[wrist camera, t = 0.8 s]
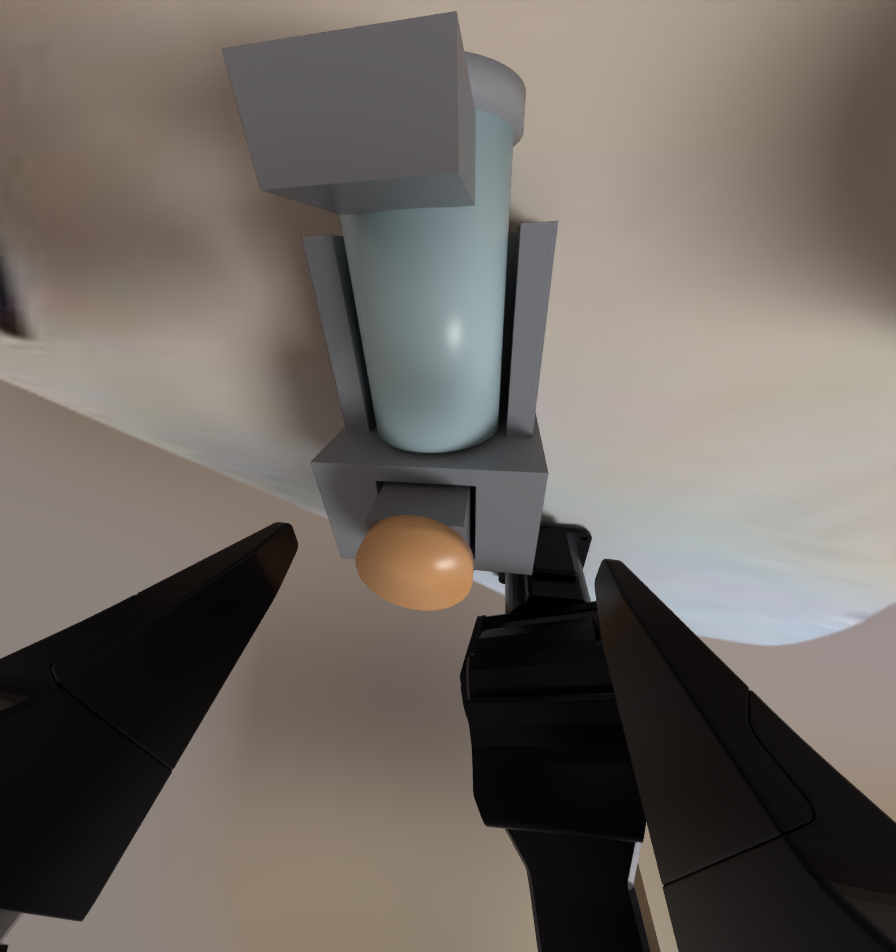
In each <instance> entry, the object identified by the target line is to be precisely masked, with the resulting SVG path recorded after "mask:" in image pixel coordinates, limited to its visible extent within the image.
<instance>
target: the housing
mask: <svg viewBox="0 0 896 952" xmlns="http://www.w3.org/2000/svg"><path fill="white" fill-rule="evenodd" d="M557 226H558V221H548V222H532V223H521V225H520V227H519V229H518V232H517V233H508V251H507V269H506V288H505V307H504V326H503V345H502V364H501V382H500V401H499V420H498V429H497V431H496V432H495V433H494V435H493V436H491V437H490V438H489V439H487V440H486V441H484V442H482V443H480V444H478V445H475V446H472V447H470V448H466V449H462V450H457V451H451V452H440V453H422V452H413V451H407V450H403V449H399V448H396V447H393V446H391V445H389V444H387V443H386V442H384V441H383V440H382V439H381V438H380V436H379V434H378V431H377V425H376V419H375V414H374V408H373V402H372V397H371V391H370V385H369V379H368V374H367V368H366V362H365V357H364V351H363V345H362V339H361V334H360V328H359V322H358V317H357V311H356V305H355V299H354V294H353V288H352V282H351V277H350V271H349V265H348V259H347V254H346V248H345V242H344V237H341V236H335V235H324V236H308V237H302V241H303V245H304V249H305V253H306V258H307V262H308V266H309V271H310V275H311V279H312V284H313V288H314V292H315V296H316V301H317V305H318V309H319V314H320V318H321V322H322V326H323V331H324V335H325V339H326V344H327V348H328V352H329V356H330V361H331V365H332V369H333V374H334V378H335V382H336V387H337V391H338V395H339V399H340V404H341V408H342V412H343V417H344V421H345V425H346V426H345V427H344V428H343V429H342V430H341V431H340V433H339V434H338V435H337V436H336V437H335V438H334V439H333V440H332V441H331V442H330V443H329V444H328V445H327V446H326V447H325V448H324V449H323V450H322V451H321V452H320V453H319V454H318V455H317V456H316V457H315V458H314V459H313V460H312V461H311V465H312V468H313V472H314V475H315V478H316V481H317V484H318V487H319V490H320V493H321V497H322V500H323V503H324V506H325V509H326V512H327V515H328V518H329V521H330V525H331V528H332V531H333V534H334V537H335V540H336V543H337V546H338V549H339V552H340V556H341V558H348V559H356V554H357V551H358V549H359V547H360V545H361V543H362V541H363V539H364V537H365V535H366V533H367V532H368V531H367V527H366V523H365V518H366V517H367V515H368V513H369V511H370V509H371V507H372V506H373V504H374V502H375V500H376V498H377V496H378V495H379V493H380V491H381V489H382V487H383V485H384V484H385V482H386V481H390V482H408V483H427V484H446V485H465V486H471V543H470V549H471V551H472V554H473V558H474V569H473V570H481V571H492V572H503V573H514V574H525V575H532V571H533V565H534V558H535V552H536V546H537V540H538V534H539V527H540V521H541V515H542V509H543V503H544V496H545V490H546V484H547V478H548V470H547V465H546V460H545V455H544V451H543V446H542V441H541V436H540V432H539V427H538V422H537V417H536V413H535V410H536V402H537V393H538V385H539V377H540V368H541V360H542V352H543V343H544V335H545V326H546V318H547V310H548V301H549V293H550V285H551V276H552V268H553V260H554V251H555V243H556V235H557Z"/></svg>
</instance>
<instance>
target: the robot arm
mask: <svg viewBox="0 0 896 952" xmlns="http://www.w3.org/2000/svg"><path fill="white" fill-rule="evenodd" d="M583 536H586V537H583ZM591 540H592V537H591V533H590V532H589V531H588V530H581V529H567V528H552V527H539V534H538V540H537V546H536V552H535V558H534V565H533V571H532V575H525V574H514V573H503V572H499V582H500V583H502V584H505V614H501V615H493V616H486V615H483V616H478V617H477V619H476V623H475V626H474V629H473V633H472V636H471V640H470V643H469V646H468V649H467V653H466V656H465V659H464V663H463V667H462V670H461V674H460V681H461V693H462V700H463V706H464V709H465V713H466V716H467V719H468V722H469V728H470V736H471V744H472V764H473V792H474V798H475V801H476V803H477V806H478V809H479V812H480V814H481V817H482V820H483V822H484V824H485V825H486V826H487V827H496V828H505V830H506V832H507V834H508V836H509V837H510V839H511V841H512V843H513V845H514V847H515V849H516V850H517V852H518V854H519V856H520V858H521V860H522V861H523V863H524V865H525V868H526V870H527V875H528V881H529V887H530V894H531V901H532V910H533V917H534V925H535V932H536V940H537V947H538V952H660V948H659V944H658V940H657V936H656V932H655V928H654V924H653V921H652V916H651V913H650V908H649V905H648V901H647V897H646V893H645V889H644V885H643V881H642V877H641V873H640V870H639V865H638V858H639V854H640V848H641V843H642V842H643V839H644V833H645V826H646V822H647V826H648V829H649V833H650V837H651V842H652V845H653V849H654V854H655V858H656V861H657V866H658V870H659V874H660V878H661V882H662V884H663V885H664V886H663V891H664V895H665V899H666V903H667V907H668V911H669V915H670V919H671V923H672V927H673V931H674V935H675V939H676V943H677V947H678V951H679V952H896V823H895V822H894V821H893V820H892V819H891V818H890V817H889V816H888V815H886V814H885V813H884V812H883V811H882V810H881V809H880V808H878V807H877V806H876V805H875V804H874V803H873V802H872V801H871V800H869V799H868V798H867V797H866V796H865V795H864V794H863V793H862V792H860V791H859V790H858V789H857V788H856V787H855V786H854V785H853V784H851V783H850V782H849V781H848V780H847V779H846V778H845V777H843V776H842V775H841V774H840V773H839V772H838V771H837V770H836V769H835V768H834V767H833V766H831V765H830V764H829V763H828V762H827V761H826V760H825V759H824V758H823V757H822V756H820V755H819V754H818V753H817V752H816V751H815V750H813V748H812V747H811V746H809V745H808V744H807V743H806V742H805V741H804V740H803V739H802V738H801V737H800V736H799V735H798V734H797V733H796V732H794V731H793V730H792V729H791V728H790V727H789V726H788V725H787V724H786V723H785V722H784V721H783V720H782V719H781V718H780V717H779V716H778V715H777V714H776V713H775V712H773V710H772V709H771V708H770V707H768V706H767V705H766V704H765V703H764V702H763V701H762V700H761V699H760V698H759V697H758V696H757V695H756V694H755V693H754V692H753V691H752V690H749V688H748V686H747V685H746V684H745V683H744V682H743V681H742V680H741V679H740V678H739V677H738V676H737V675H736V674H735V673H734V672H733V671H732V670H731V669H730V668H729V667H728V666H727V665H726V664H725V663H724V662H723V661H722V660H721V659H720V658H719V657H718V656H717V655H716V654H715V653H714V652H713V651H711V649H710V648H709V647H708V646H707V645H706V644H704V643H703V642H702V641H701V640H700V639H699V638H698V637H697V636H696V635H695V634H694V633H693V632H692V631H691V630H690V629H689V628H688V627H687V626H686V625H685V624H684V623H683V622H682V621H681V620H680V619H679V618H678V617H677V616H676V615H675V614H674V613H673V612H672V611H671V610H670V609H669V608H668V607H667V606H666V605H665V604H664V603H663V602H662V601H661V600H660V599H659V598H658V597H657V596H656V595H655V594H654V593H653V592H652V591H651V590H650V589H649V588H648V587H647V586H646V585H645V584H644V583H643V582H642V581H641V580H640V579H639V578H638V577H637V576H636V575H635V574H634V573H633V572H632V571H631V570H630V569H629V568H628V567H627V566H626V565H625V564H624V563H622V562H621V561H619V560H613V559H604V560H603V561H602V562H601V565H600V567H599V570H598V573H597V576H596V578H595V594H596V601H593V602H591V600H590V596H589V592H588V588H587V585H586V581H585V577H584V573H583V567H584V564H585V560H586V557H587V553H588V550H589V546H590V543H591ZM297 549H298V542H297V539H296V536H295V533H294V530H293V527H292V525H291V524H289V523H282V522H276V523H273V524H272V525H270V526H268V527H266V528H264V529H262V530H260V531H258V532H256V533H254V534H252V535H250V536H248V537H246V538H244V539H242V540H240V541H238V542H236V543H235V544H233V545H231V546H229V547H227V548H225V549H223V550H221V551H219V552H217V553H215V554H213V555H211V556H209V557H207V558H205V559H203V560H202V561H199V562H197V563H196V564H194V565H192V566H190V567H188V568H186V569H184V570H182V571H180V572H178V573H176V574H174V575H172V576H170V577H168V578H166V579H164V580H162V581H160V582H158V583H157V584H155V585H153V586H151V587H149V588H147V589H145V590H143V591H141V592H139V593H138V594H137V595H133V596H131V597H129V598H127V599H125V600H123V601H121V602H120V603H118V604H116V605H114V606H112V607H110V608H108V609H105V610H103V611H102V612H99V613H98V614H95V615H94V616H92V617H89V618H87V619H85V620H83V621H81V622H79V623H77V624H75V625H72V626H70V627H68V628H66V629H64V630H62V631H60V632H58V633H55V634H53V635H51V636H49V637H47V638H44V639H43V640H40V641H38V642H36V643H34V644H32V645H30V646H27V647H25V648H23V649H21V650H19V651H16V652H14V653H12V654H10V655H8V656H5V657H3V658H1V659H0V952H7V948H8V945H6V944H3V943H2V941H3V940H4V939H5V937H6V936H7V935H8V933H9V932H10V931H11V929H12V928H13V927H14V925H15V924H16V923H17V922H18V920H19V919H20V918H21V916H22V915H23V914H24V913H27V914H34V915H41V916H47V917H53V918H61V919H67V920H73V921H80V922H81V921H83V919H84V918H85V916H86V915H87V914H88V912H89V911H90V909H91V907H92V906H93V904H94V903H95V901H96V899H97V898H98V896H99V894H100V893H101V891H102V889H103V888H104V886H105V884H106V883H107V881H108V879H109V877H110V876H111V874H112V872H113V871H114V869H115V867H116V866H117V864H118V862H119V861H120V859H121V857H122V856H123V854H124V852H125V850H126V849H127V847H128V845H129V844H130V842H131V840H132V838H133V837H134V835H135V833H136V832H137V830H138V828H139V827H140V825H141V823H142V821H143V820H144V818H145V817H146V815H147V813H148V812H149V810H150V808H151V807H152V805H153V803H154V801H155V800H156V798H157V796H158V795H159V793H160V791H161V790H162V788H163V786H164V785H165V783H166V781H167V779H168V778H169V776H170V774H171V773H172V769H174V767H175V766H176V764H177V762H178V761H179V759H180V757H181V755H182V754H183V752H184V750H185V748H186V747H187V745H188V744H189V742H190V740H191V739H192V737H193V735H194V733H195V732H196V730H197V728H198V727H199V725H200V723H201V722H202V720H203V718H204V717H205V715H206V713H207V712H208V710H209V708H210V706H211V705H212V703H213V701H214V700H215V698H216V696H217V695H218V693H219V691H220V689H221V688H222V686H223V684H224V683H225V681H226V679H227V678H228V676H229V674H230V672H231V671H232V669H233V668H234V666H235V664H236V663H237V661H238V659H239V657H240V656H241V654H242V652H243V651H244V649H245V647H246V646H247V644H248V642H249V641H250V639H251V637H252V636H253V634H254V632H255V630H256V629H257V627H258V625H259V624H260V622H261V620H262V619H263V617H264V615H265V613H266V612H267V610H268V609H269V607H270V605H271V603H272V602H273V600H274V598H275V596H276V594H277V592H278V590H279V588H280V586H281V584H282V582H283V579H284V578H285V576H286V573H287V571H288V569H289V567H290V564H291V563H292V560H293V558H294V556H295V554H296V552H297Z"/></svg>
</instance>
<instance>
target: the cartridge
mask: <svg viewBox="0 0 896 952" xmlns="http://www.w3.org/2000/svg"><path fill="white" fill-rule="evenodd" d="M222 51H223V55H224V58H225V62H226V66H227V69H228V73H229V77H230V80H231V84H232V88H233V91H234V95H235V99H236V102H237V106H238V110H239V113H240V117H241V121H242V124H243V128H244V132H245V135H246V139H247V143H248V146H249V150H250V154H251V157H252V161H253V165H254V168H255V172H256V176H257V179H258V183H259V187H260V190H262V191H265V192H269V193H272V194H275V195H279V196H282V197H285V198H289V199H292V200H295V201H299V202H302V203H305V204H308V205H312V206H315V207H318V208H322V209H325V210H328V211H332V212H335V213H338V214H340V219H341V225H342V231H343V237H344V242H345V248H346V254H347V259H348V265H349V271H350V277H351V282H352V288H353V294H354V299H355V305H356V311H357V317H358V322H359V328H360V334H361V339H362V345H363V351H364V357H365V362H366V368H367V374H368V379H369V385H370V391H371V397H372V402H373V408H374V414H375V419H376V425H377V431H378V434H379V436H380V438H381V439H382V440H383V441H384V442H386V443H387V444H389V445H391V446H393V447H396V448H399V449H403V450H407V451H413V452H422V453H440V452H451V451H457V450H462V449H466V448H470V447H472V446H475V445H478V444H480V443H482V442H484V441H486V440H487V439H489V438H490V437H491V436H493V435H494V433H495V432H496V431H497V429H498V420H499V401H500V382H501V364H502V345H503V326H504V307H505V288H506V269H507V251H508V232H509V213H510V194H511V175H512V157H513V146H515V145H516V144H517V143H518V142H519V141H520V139H521V138H522V136H523V131H524V116H525V100H526V88H525V85H524V82H523V81H522V80H521V78H520V77H519V75H517V74H516V73H515V72H514V71H513V70H512V69H510V68H509V67H507V66H506V65H504V64H502V63H500V62H498V61H495V60H493V59H491V58H488V57H485V56H482V55H478V54H474V53H470V52H465V51H464V48H463V43H462V38H461V32H460V27H459V22H458V16H457V11H454V12H448V13H442V14H436V15H429V16H423V17H417V18H411V19H404V20H398V21H392V22H386V23H379V24H373V25H367V26H360V27H354V28H348V29H342V30H335V31H329V32H323V33H317V34H310V35H304V36H298V37H291V38H285V39H279V40H273V41H266V42H260V43H254V44H248V45H241V46H235V47H229V48H222Z"/></svg>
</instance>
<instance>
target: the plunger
mask: <svg viewBox="0 0 896 952" xmlns="http://www.w3.org/2000/svg"><path fill="white" fill-rule="evenodd" d="M365 523H366V527H367V531H368V532H367V533H366V535H365V537H364V539H363V541H362V543H361V545H360V547H359V549H358V551H357V554H356V568H357V571H358V574H359V576H360V577H361V579H362V581H363V582H364V583H365V584H366V585H367V587H369V589H371V590H372V591H373V592H374V593H375V594H377V595H378V596H380V597H381V598H383V599H385V600H387V601H389V602H391V603H393V604H396V605H398V606H402V607H405V608H409V609H415V610H425V611H427V610H440V609H445V608H448V607H451V606H453V605H455V604H457V603H459V602H460V601H462V600H463V599H464V598H465V597H466V596H467V595H468V593H469V591H470V589H471V586H472V579H473V569H474V558H473V554H472V551H471V549H470V543H471V486H465V485H446V484H427V483H408V482H390V481H386V482H385V484H384V485H383V487H382V489H381V491H380V493H379V495H378V496H377V498H376V500H375V502H374V504H373V506H372V507H371V509H370V511H369V513H368V515H367V517H366V518H365Z"/></svg>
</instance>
